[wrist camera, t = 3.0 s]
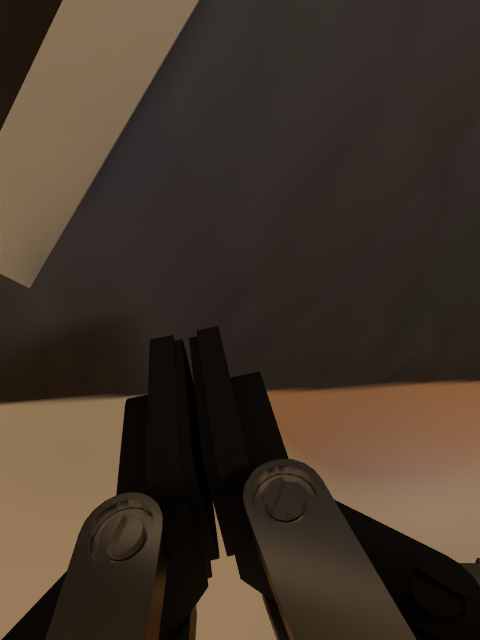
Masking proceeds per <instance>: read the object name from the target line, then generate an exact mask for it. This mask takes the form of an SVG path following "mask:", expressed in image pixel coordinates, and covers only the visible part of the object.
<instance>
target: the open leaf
mask: <svg viewBox="0 0 480 640" xmlns="http://www.w3.org/2000/svg"><path fill="white" fill-rule="evenodd" d="M199 1H200V0H63V1H62V3H61V5H60V7H59V9H58V11H57V13H56V15H55V17H54V20H53V22H52V24H51V26H50V28H49V30H48V32H47V34H46V36H45V38H44V41H43V43H42V45H41V47H40V49H39V51H38V53H37V55H36V57H35V60H34V62H33V64H32V66H31V68H30V70H29V72H28V74H27V76H26V78H25V81H24V83H23V85H22V87H21V89H20V91H19V93H18V95H17V97H16V99H15V102H14V104H13V106H12V108H11V110H10V112H9V114H8V116H7V118H6V120H5V123H4V125H3V127H2V129H1V131H0V274H2V275H4V276H6V277H8V278H10V279H12V280H14V281H16V282H18V283H20V284H22V285H24V286H26V287H28V288H30V286H31V285H32V283H33V281H34V280H35V278H36V276H37V275H38V273H39V271H40V270H41V268H42V267H43V265H44V263H45V262H46V260H47V258H48V257H49V255H50V253H51V252H52V250H53V248H54V247H55V245H56V243H57V242H58V240H59V238H60V237H61V235H62V233H63V232H64V230H65V228H66V227H67V225H68V223H69V222H70V220H71V218H72V217H73V215H74V213H75V212H76V210H77V208H78V207H79V205H80V203H81V202H82V200H83V198H84V196H85V195H86V193H87V191H88V190H89V188H90V186H91V185H92V183H93V181H94V179H95V178H96V176H97V174H98V173H99V171H100V169H101V168H102V166H103V164H104V163H105V161H106V159H107V157H108V156H109V154H110V152H111V151H112V149H113V147H114V146H115V144H116V142H117V140H118V139H119V137H120V135H121V134H122V132H123V130H124V129H125V127H126V125H127V123H128V122H129V120H130V118H131V117H132V115H133V113H134V112H135V110H136V108H137V106H138V105H139V103H140V101H141V100H142V98H143V96H144V95H145V93H146V91H147V89H148V88H149V86H150V84H151V83H152V81H153V79H154V78H155V76H156V74H157V73H158V71H159V69H160V67H161V66H162V64H163V62H164V61H165V59H166V57H167V56H168V54H169V52H170V50H171V49H172V47H173V45H174V44H175V42H176V40H177V39H178V37H179V35H180V33H181V32H182V30H183V28H184V27H185V25H186V23H187V22H188V20H189V18H190V16H191V15H192V13H193V11H194V10H195V8H196V6H197V5H198V3H199Z"/></svg>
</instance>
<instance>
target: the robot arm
mask: <svg viewBox="0 0 480 640" xmlns="http://www.w3.org/2000/svg"><path fill="white" fill-rule="evenodd" d="M189 342H190V351H191V360H192V369H193V378H194V384H193V380H192V376H191V372H190V367H189V363H188V359H187V355H186V351H185V347H184V343H183V340H182V339H181V340H176V341H175V340H174V337H173V335H171V336H166V337H161V338H156V339H151V340H150V352H149V385H148V395H144V396H139V397H134V398H129V399H127V400H126V404H125V412H124V422H123V432H122V443H121V453H120V463H119V473H118V484H117V494H116V496H114V497H112V498H110V499H108V500H106V501H104V502H103V503H102V504H101V505H100V506H98V507H97V508H96V509H95V510H94V511H93V512H92V513H91V514H90V515H89V517H88V518H87V519H86V520H85V522H84V524H83V526H82V528H81V531H80V533H79V535H78V538H77V542H76V545H75V548H74V551H73V554H72V558H71V560H70V564H69V567H68V570H67V571H66V573H64V575H63V576H62V577H61V578H60V579H59V580H58V581H57V582H56V583H55V584H54V585H53V586H52V587H51V588H50V589H49V590H48V591H47V592H46V594H45V595H44V596H43V597H42V598H41V599H40V600H39V601H38V602H37V603H36V604H35V605H34V606H33V607H32V608H31V609H30V611H28V612H27V613H26V614H25V616H24V617H23V618H22V619H21V620H20V621H19V622H18V623H17V624H16V625H15V626H14V627H13V628H12V629H11V630H10V631H9V632H8V633H7V634H6V636H5V637H4V638H3V639H2V640H195V637H196V621H197V611H196V604H197V602H198V601H199V599H200V598H201V596H202V595H203V594H204V592H205V591H206V589H207V588H208V579H207V578H211V577H212V571H211V562H210V561H211V560H215V559H219V548H218V539H217V531H216V524H215V515H214V507H215V511H216V515H217V519H218V522H219V526H220V530H221V534H222V537H223V541H224V546H225V549H226V553H227V556H231V555H235V557H236V562H237V566H238V570H239V574H240V578H241V579H242V580H243V581H244V582H246V583H247V584H249V585H250V586H252V587H253V588H255V589H256V590H258V591H259V592H260V593H262V597H263V601H264V603H265V607H266V610H267V612H268V615H269V618H270V621H271V624H272V627H273V630H274V633H275V636H276V638H277V640H480V558H477V560H476V563H457V562H456V561H454V560H453V559H451V558H449V557H448V556H446V555H445V554H443V553H440V552H438V551H436V550H434V549H432V548H430V547H428V546H426V545H424V544H422V543H420V542H418V541H416V540H414V539H412V538H410V537H408V536H406V535H404V534H402V533H400V532H398V531H396V530H394V529H392V528H390V527H388V526H386V525H384V524H382V523H380V522H378V521H376V520H374V519H372V518H370V517H368V516H366V515H364V514H362V513H360V512H358V511H356V510H354V509H352V508H350V507H348V506H346V505H344V504H342V503H340V502H338V501H336V500H334V499H333V497H332V496H331V494H330V492H329V490H328V489H327V487H326V485H325V484H324V482H323V480H322V479H321V478H320V476H319V475H318V474H317V473H316V471H315V470H314V469H312V468H311V467H309V466H308V465H306V464H305V463H302V462H299V461H296V460H292V459H288V456H287V453H286V450H285V447H284V444H283V441H282V438H281V435H280V432H279V428H278V426H277V422H276V420H275V416H274V413H273V410H272V407H271V404H270V401H269V398H268V395H267V392H266V389H265V386H264V383H263V380H262V377H261V374H260V372H256V373H251V374H246V375H241V376H236V377H231V378H230V375H229V371H228V367H227V362H226V358H225V353H224V349H223V345H222V340H221V336H220V331H219V327H218V326H217V327H212V328H207V329H202V330H197V336H196V337H191V338H189ZM194 387H195V388H194ZM213 503H214V507H213Z"/></svg>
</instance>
